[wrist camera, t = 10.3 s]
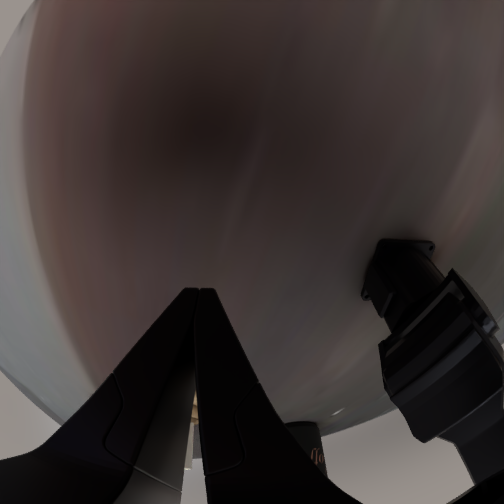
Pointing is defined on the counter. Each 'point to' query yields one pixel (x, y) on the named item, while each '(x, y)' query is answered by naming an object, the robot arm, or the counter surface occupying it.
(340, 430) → the counter surface
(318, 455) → the coffee jar
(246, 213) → the counter surface
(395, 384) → the robot arm
